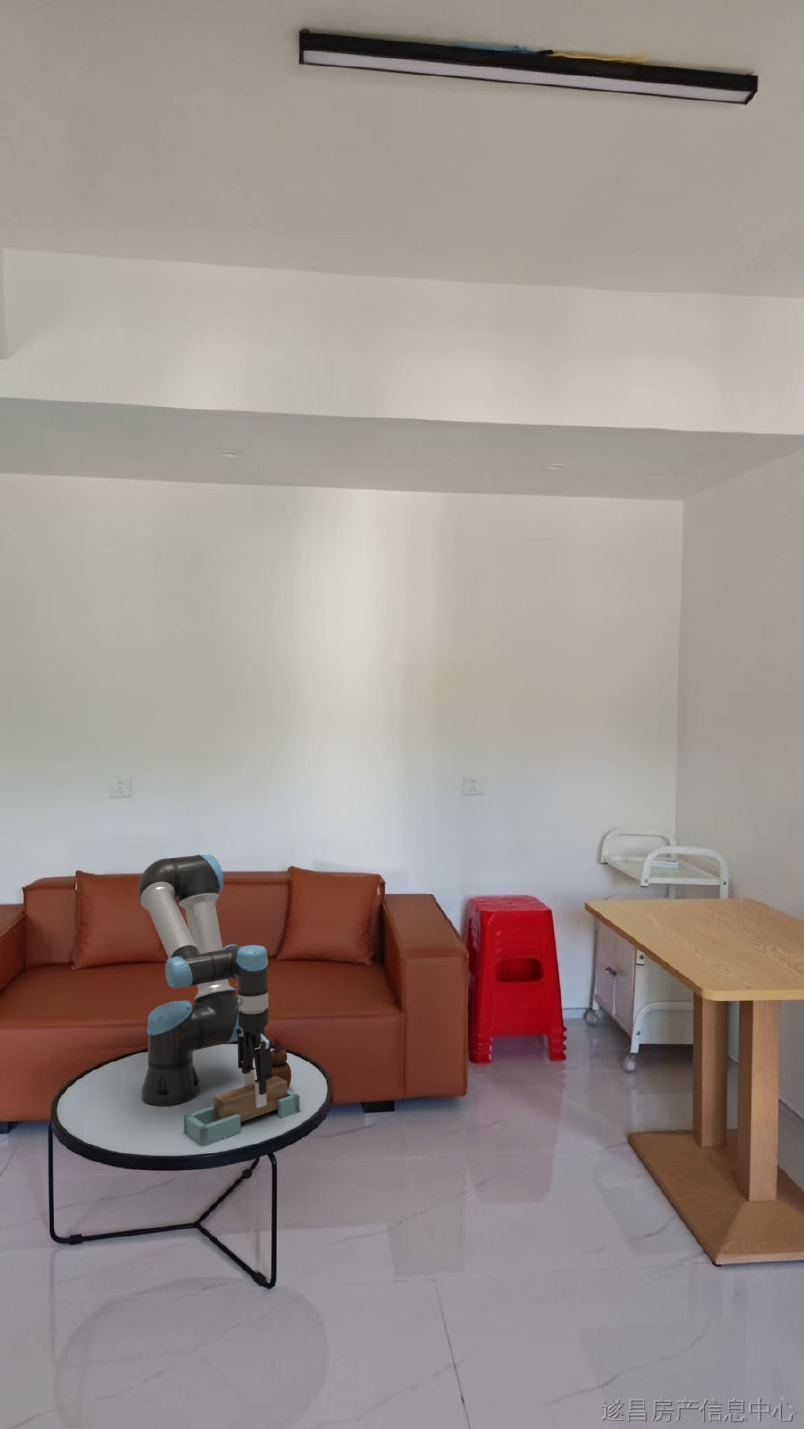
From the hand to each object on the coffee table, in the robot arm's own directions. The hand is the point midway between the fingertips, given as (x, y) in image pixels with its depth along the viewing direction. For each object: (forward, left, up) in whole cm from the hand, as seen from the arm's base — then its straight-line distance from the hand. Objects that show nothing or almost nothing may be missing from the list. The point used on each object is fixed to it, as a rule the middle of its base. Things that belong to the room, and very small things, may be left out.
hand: (255, 1102), depth 215 cm
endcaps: (0, -4, -4) cm, 5 cm away
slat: (0, -1, -2) cm, 3 cm away
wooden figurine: (-9, +12, -4) cm, 16 cm away
